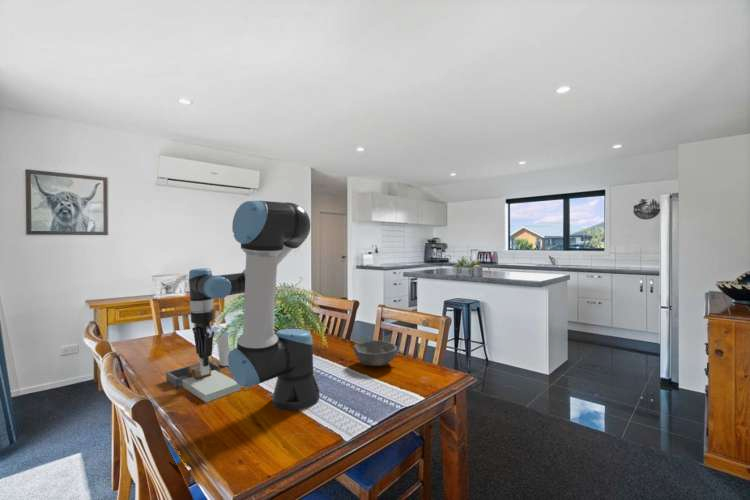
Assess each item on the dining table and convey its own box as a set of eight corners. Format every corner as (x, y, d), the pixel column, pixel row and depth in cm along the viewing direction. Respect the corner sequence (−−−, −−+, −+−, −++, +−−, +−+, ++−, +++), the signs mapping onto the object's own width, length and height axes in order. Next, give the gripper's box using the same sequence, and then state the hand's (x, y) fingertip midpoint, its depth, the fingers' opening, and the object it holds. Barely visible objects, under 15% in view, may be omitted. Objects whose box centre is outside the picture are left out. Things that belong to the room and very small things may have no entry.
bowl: (404, 368, 142) (404, 348, 142) (363, 376, 136) (362, 355, 135) (386, 354, 159) (386, 337, 159) (349, 360, 152) (348, 342, 152)
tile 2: (211, 375, 133) (210, 367, 133) (197, 380, 129) (196, 371, 129) (205, 372, 136) (204, 364, 136) (191, 376, 133) (191, 368, 133)
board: (240, 390, 126) (240, 383, 126) (206, 402, 117) (205, 395, 117) (215, 376, 139) (214, 369, 139) (182, 386, 130) (182, 379, 130)
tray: (220, 374, 141) (219, 365, 140) (176, 388, 129) (176, 378, 128) (208, 368, 147) (208, 360, 147) (166, 381, 135) (166, 372, 135)
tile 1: (205, 370, 136) (203, 362, 137) (191, 374, 133) (189, 366, 134) (201, 374, 139) (199, 367, 140) (187, 378, 136) (185, 371, 137)
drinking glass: (228, 367, 148) (227, 332, 147) (214, 366, 149) (212, 331, 148) (238, 361, 154) (236, 327, 154) (224, 361, 156) (222, 327, 155)
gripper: (220, 311, 128) (223, 375, 129) (204, 306, 137) (207, 366, 138) (199, 315, 122) (202, 382, 124) (184, 310, 131) (187, 372, 132)
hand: (204, 373), depth 131 cm, fingers closed
